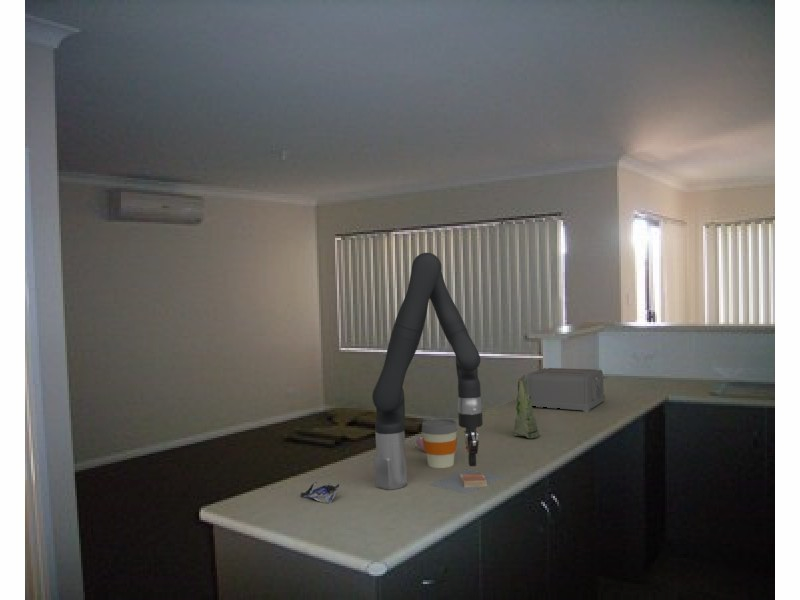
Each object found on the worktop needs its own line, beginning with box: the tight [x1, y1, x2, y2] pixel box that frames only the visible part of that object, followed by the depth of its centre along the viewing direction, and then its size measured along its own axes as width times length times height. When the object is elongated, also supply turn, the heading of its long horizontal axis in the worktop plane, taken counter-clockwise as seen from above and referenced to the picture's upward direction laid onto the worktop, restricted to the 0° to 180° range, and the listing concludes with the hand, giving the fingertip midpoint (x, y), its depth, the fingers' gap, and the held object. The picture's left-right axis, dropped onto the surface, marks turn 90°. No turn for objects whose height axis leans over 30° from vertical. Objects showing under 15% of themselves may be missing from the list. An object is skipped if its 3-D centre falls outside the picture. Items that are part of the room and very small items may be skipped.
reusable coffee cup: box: [421, 418, 458, 469], centre depth 211 cm, size 13×13×15 cm
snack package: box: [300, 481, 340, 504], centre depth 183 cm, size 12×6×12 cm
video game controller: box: [416, 434, 425, 453], centre depth 234 cm, size 10×5×7 cm, turn 142°
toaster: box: [525, 367, 608, 412], centre depth 311 cm, size 31×36×17 cm
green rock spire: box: [513, 374, 540, 439], centre depth 248 cm, size 11×12×25 cm
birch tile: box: [460, 473, 488, 487], centre depth 189 cm, size 2×7×8 cm
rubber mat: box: [428, 468, 504, 495], centre depth 192 cm, size 20×15×1 cm
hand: (472, 465), depth 190 cm, fingers closed
